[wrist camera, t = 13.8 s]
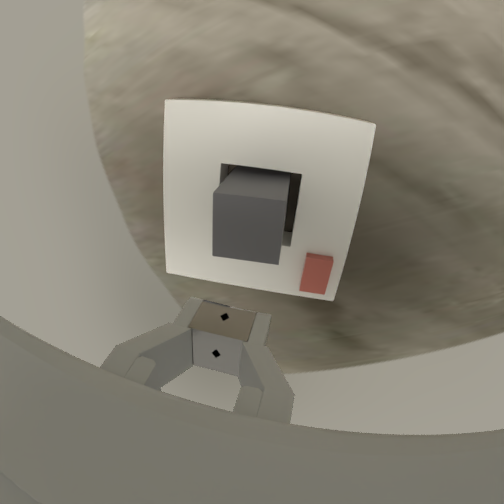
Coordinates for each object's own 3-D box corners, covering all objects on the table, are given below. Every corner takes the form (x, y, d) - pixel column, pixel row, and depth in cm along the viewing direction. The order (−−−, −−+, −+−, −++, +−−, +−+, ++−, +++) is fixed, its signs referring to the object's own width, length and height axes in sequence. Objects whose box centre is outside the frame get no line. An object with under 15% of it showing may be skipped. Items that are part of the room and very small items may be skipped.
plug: (291, 169, 22) (286, 200, 16) (285, 218, 24) (278, 264, 18) (238, 164, 23) (212, 192, 17) (235, 212, 25) (212, 255, 19)
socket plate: (368, 121, 19) (378, 125, 17) (331, 283, 26) (333, 306, 24) (178, 98, 21) (160, 100, 18) (176, 257, 28) (163, 277, 25)
